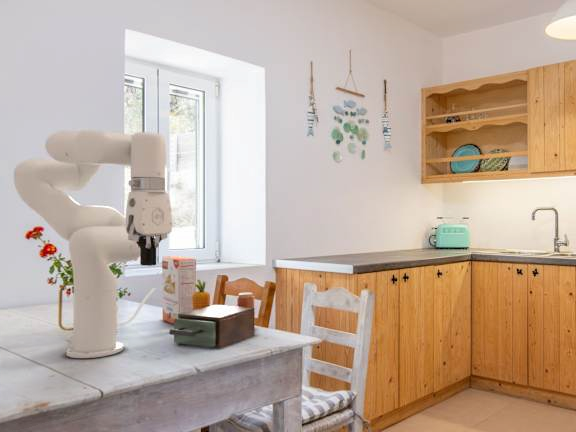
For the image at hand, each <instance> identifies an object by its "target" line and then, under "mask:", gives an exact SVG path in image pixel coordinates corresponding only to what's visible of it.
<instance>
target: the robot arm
mask: <svg viewBox="0 0 576 432" xmlns="http://www.w3.org/2000/svg"><path fill="white" fill-rule="evenodd" d="M44 144H45V145H44V147H45V151H46V153H47V155H49V157H51V158H29V159H25V160H21V161H20V162H19V163H18V164H17V165H16V166H15V168H14V169H13V183H14V187H15V190H16V192H17V194H18V196H19V197H20V199H21V201H23V202H24V204H25V205H27V207H29V208H30V209H31V210H33V211H34V212H35V213H36V214H38V215H39V216H40V217H41V218H42V219H43V221H45V222H46V223H47V224H48V225H49V226H50V227H51V228H52V229H53V230H54V231H55V232H56V233H57V234H58V236H59V237H61V238H62V239H63V240H65V241H68V251H69V256H70V261H71V266H72V277H73V332H72V333H71V334H70V335H68V336H66V337H65V339H64V340H65V342H66V343H70V344H71V345H70V346H71V347H69V348H68V349H66V351H65V352H66V353H65V355H66V356H67V357H68V358H72V359H93V358H95V359H96V358H101V357H107V356H111V355H116V354H119V353H120V352H122V351H123V350H124V344H123V343H122V342H118V341H117V339H118V338H117V332H118V329H117V326H118V325H117V323H118V320H117V319H118V316H117V315H118V313H117V311H118V309H117V307H118V304H117V302H118V299H117V298H118V296H117V295H118V290H117V289H118V288H117V287H118V285H117V278H116V276H115V274H114V272H113V271H112V269H111V268H110V266H109V264H118V263H126V262H127V263H128V262H132V261H133V262H134V261H136V260H138V259H139V258H140V265H141V266H147V267H148V266H149V267H152V266H157V249H158V248H159V246H160V243H161V241H163V240H166V239H167V238H168V235H169V234H171V233H172V231H173V218H172V217H173V215H172V205H171V200H170V195H169V192H167V140H166V137H165V136H164V134H161V133H156V132H149V131H141V132H135V133H133V134H127V133H121V132H114V131H106V130H92V129H91V130H87V129H85V130H84V129H83V130H57V131H55V132H52V133H51V134H49V136H48V137H47V138H46V139H45V143H44ZM103 165H113V166H124V167H130V179H129V180H128V186H129V187H130V191H129V192H128V195H127V201H126V207H125V216H124V214H122V213H121V212H120V211H118V210H117V209H116V208H114V207H110V206H106V205H84V204H80V203H79V202H77V201H75V200H74V199H73V197H71V196H70V195H69V194H67V193H65V192H63V191H66V192H73V191H74V192H77V191H81V190H83V189H85V188H86V187H87V186H88V185H89V184H90V182H91V181H92V180H93V178H94V177H95V175H96V174H97V173H98V172H99V170H100V169H101V168H102V166H103Z"/></svg>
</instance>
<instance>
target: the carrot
mask: <svg viewBox="0 0 576 432" xmlns="http://www.w3.org/2000/svg"><path fill="white" fill-rule="evenodd" d="M196 282H197V283H196V284H195V286H196V289H197V290H198V291H196V292H195V293H194V294H193V310H196V309H200V308H204V307H208V306H211V294H210V292H209V291H205V289H206V288H205V287H206V284H207V282H206V281H204V280H203V281H201V279H196Z"/></svg>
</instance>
